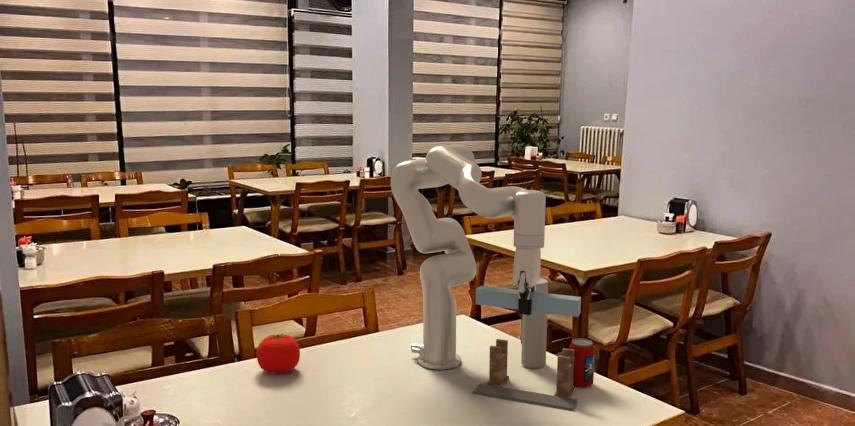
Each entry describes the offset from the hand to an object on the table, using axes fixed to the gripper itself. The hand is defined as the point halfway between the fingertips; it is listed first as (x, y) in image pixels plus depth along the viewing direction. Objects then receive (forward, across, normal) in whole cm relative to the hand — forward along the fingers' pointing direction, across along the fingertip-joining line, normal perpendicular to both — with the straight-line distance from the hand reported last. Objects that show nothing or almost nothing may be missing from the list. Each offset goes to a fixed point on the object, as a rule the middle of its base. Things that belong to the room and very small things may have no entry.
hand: (526, 311), depth 173 cm
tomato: (+23, +10, -68) cm, 72 cm away
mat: (+23, 0, 0) cm, 23 cm away
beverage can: (+23, -14, +12) cm, 29 cm away
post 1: (+23, -6, -9) cm, 25 cm away
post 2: (+23, -6, +9) cm, 25 cm away
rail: (-1, 0, 0) cm, 1 cm away
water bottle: (+23, -23, -4) cm, 33 cm away
